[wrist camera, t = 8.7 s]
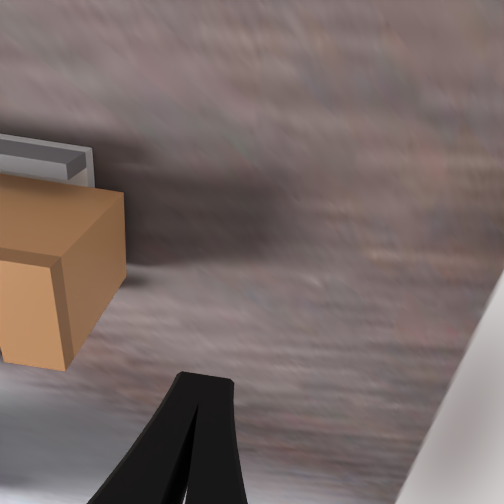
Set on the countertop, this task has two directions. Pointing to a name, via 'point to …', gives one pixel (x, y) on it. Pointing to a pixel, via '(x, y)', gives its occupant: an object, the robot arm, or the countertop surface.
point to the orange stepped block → (56, 267)
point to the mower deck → (46, 160)
